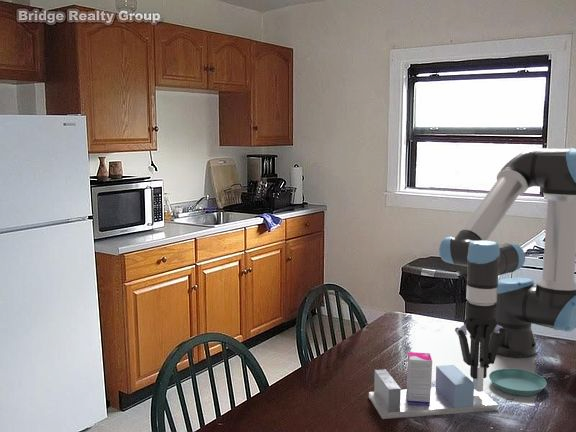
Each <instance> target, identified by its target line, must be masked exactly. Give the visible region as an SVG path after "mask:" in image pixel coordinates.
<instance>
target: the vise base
mask: <svg viewBox="0 0 576 432" xmlns="http://www.w3.org/2000/svg"><path fill="white" fill-rule="evenodd" d="M373 386H374V389H373V390H374V391H369V392H368V399H369V400H370V401H371V403H372V405H373V406H374V408H375V409H376V411H377V413H378V414H379V416H380V418H381V419H382V420H385V419H387V420H388V419H398V418H399V419H400V418H402V419H403V418H413V417H415V418H416V417H424V416H426V417H427V416H441V415H451V414H463V413H467V414H468V413H481V412H491V411H492V412H493V411H499V410H498V409H499V407H498V406H499V404H498V403H497V402H496V401H494V400H493V398H491V397H490V396H489V395H488V393H486V392H485V391H484V390H483V392H477V391H476V390H475V389H474V405H473V406H470V407H456V408H454V407H453V406H452V404H451V403H450V402H449V401H448V400H447V399H446V398H445V397H444V396H443V395H442V394H441V393H440V391H439V390H438V389H437V388H436V386H435V387H431V399H430V404H422V403H408V401H407V396H406V390H407V388H405V389H401V388H402V387H400V386H399V384H398V383H397V382H396V380H395V379H394V378H393V377H392V375H391V374H390V373H389V372H388V370H387V369H386V368H385V369H374V385H373Z"/></svg>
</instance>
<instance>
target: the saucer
mask: <svg viewBox="0 0 576 432" xmlns="http://www.w3.org/2000/svg"><path fill="white" fill-rule="evenodd" d="M488 377H489V380H490V381H491V383H492V384H493V386H495V387H496V388H497V389H498V390H500V391H501V392H503V393H505V394H508V395H512V396H519V397H530V396H534V395H536V394H538V393H540V392H541V391H543V389H545V388H546V386H547V385H548V384H547V380H546V379H545V378H544V377H543V376H541V375H540V374H537V373H534V372H532V371H528V370H525V369H521V368H520V369H518V368H500V369H496V370H492V371H491V372H490V373H489V375H488Z"/></svg>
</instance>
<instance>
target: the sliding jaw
mask: <svg viewBox="0 0 576 432" xmlns="http://www.w3.org/2000/svg"><path fill="white" fill-rule="evenodd" d="M435 387H436V388H437V389H438V390H439V391H440V393H441V394H442V395H443V396H444V397H445V398H446V399H447V400H448V401H449V402H450V403H451V404H452V406H453V407H454V408H456V407H470V406H473V405H474V383H473V380H471V379H470V378H469V377H468V376H467V375H466V374H465V373H464V372H463V371H461V370H460V369H459V368H458V366H456V365H455V364H445V365H435Z"/></svg>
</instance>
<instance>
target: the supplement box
mask: <svg viewBox="0 0 576 432" xmlns="http://www.w3.org/2000/svg"><path fill="white" fill-rule="evenodd" d="M432 372H433V360H432V356H431V353H429V352H413V351H408V353H407V371H406V389H407V390H406V396H407V401H408V403H422V404H430V399H431V388H432V377H433V376H432V374H433V373H432Z"/></svg>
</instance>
